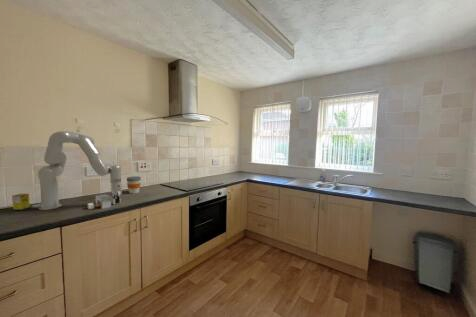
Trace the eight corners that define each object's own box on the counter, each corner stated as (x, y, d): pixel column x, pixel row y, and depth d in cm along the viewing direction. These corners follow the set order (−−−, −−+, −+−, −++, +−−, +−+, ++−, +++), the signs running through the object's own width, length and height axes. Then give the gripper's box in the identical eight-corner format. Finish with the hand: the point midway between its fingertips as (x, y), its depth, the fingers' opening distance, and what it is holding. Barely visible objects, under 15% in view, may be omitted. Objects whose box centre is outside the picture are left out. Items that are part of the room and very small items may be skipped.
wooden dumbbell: (89, 209, 146) (89, 204, 145) (87, 208, 148) (87, 202, 148) (121, 202, 163) (121, 198, 163) (119, 201, 166) (119, 197, 165)
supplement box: (29, 207, 146) (29, 193, 145) (21, 210, 140) (20, 195, 140) (21, 207, 146) (20, 193, 145) (12, 210, 140) (11, 195, 139)
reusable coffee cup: (136, 190, 207) (136, 176, 205) (143, 191, 200) (143, 177, 199) (124, 192, 196) (123, 177, 195) (131, 194, 189) (131, 179, 188)
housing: (102, 208, 148) (101, 198, 147) (95, 204, 156) (95, 194, 156) (111, 206, 153) (110, 196, 152) (104, 203, 161) (104, 193, 161)
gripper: (125, 181, 158) (125, 203, 159) (116, 178, 169) (117, 199, 170) (114, 182, 152) (115, 205, 154) (106, 179, 163) (107, 201, 164)
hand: (116, 202), depth 162 cm, fingers closed on wooden dumbbell, 4 cm apart
